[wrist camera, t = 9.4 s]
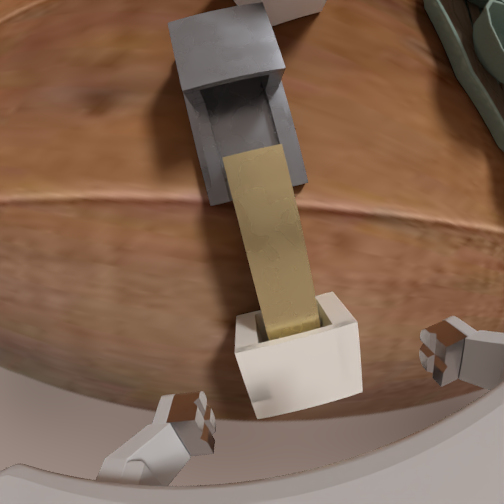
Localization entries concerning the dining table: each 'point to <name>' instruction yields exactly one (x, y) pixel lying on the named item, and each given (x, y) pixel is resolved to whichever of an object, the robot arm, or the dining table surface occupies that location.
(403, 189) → the dining table surface
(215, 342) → the dining table surface
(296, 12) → the medicine bottle
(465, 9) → the tea set
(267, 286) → the olive rectangular bar
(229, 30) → the sleeve
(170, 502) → the robot arm
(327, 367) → the socket
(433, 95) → the dining table surface
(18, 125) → the dining table surface
